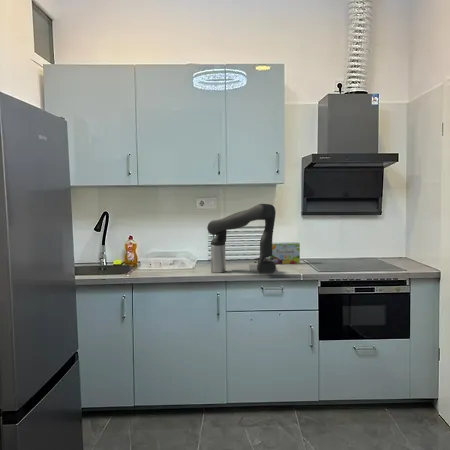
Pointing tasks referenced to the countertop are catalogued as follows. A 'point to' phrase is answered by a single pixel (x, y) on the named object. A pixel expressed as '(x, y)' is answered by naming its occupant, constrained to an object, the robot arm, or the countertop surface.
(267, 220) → the robot arm
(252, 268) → the charcoal mat
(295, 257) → the snack box
